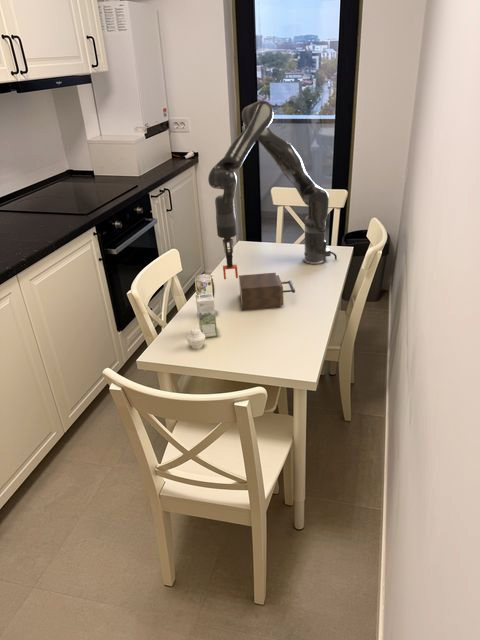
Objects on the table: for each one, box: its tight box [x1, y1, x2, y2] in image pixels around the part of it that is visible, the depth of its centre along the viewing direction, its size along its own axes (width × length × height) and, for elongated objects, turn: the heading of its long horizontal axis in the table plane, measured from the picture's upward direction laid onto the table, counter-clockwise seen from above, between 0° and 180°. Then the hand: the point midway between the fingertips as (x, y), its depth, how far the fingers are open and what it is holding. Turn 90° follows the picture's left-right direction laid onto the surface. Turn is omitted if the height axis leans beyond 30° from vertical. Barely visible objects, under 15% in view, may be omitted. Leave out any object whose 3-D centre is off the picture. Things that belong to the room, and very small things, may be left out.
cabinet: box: [238, 272, 281, 311], centre depth 193 cm, size 15×13×9 cm
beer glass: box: [194, 273, 217, 315], centre depth 184 cm, size 7×7×15 cm
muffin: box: [186, 327, 206, 350], centre depth 166 cm, size 6×6×7 cm
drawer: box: [276, 274, 296, 306], centre depth 193 cm, size 18×11×7 cm, turn 96°
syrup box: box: [195, 293, 218, 339], centre depth 172 cm, size 6×6×14 cm
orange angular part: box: [222, 264, 239, 280], centre depth 200 cm, size 6×3×8 cm, turn 96°
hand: (229, 265), depth 200 cm, fingers closed on orange angular part
